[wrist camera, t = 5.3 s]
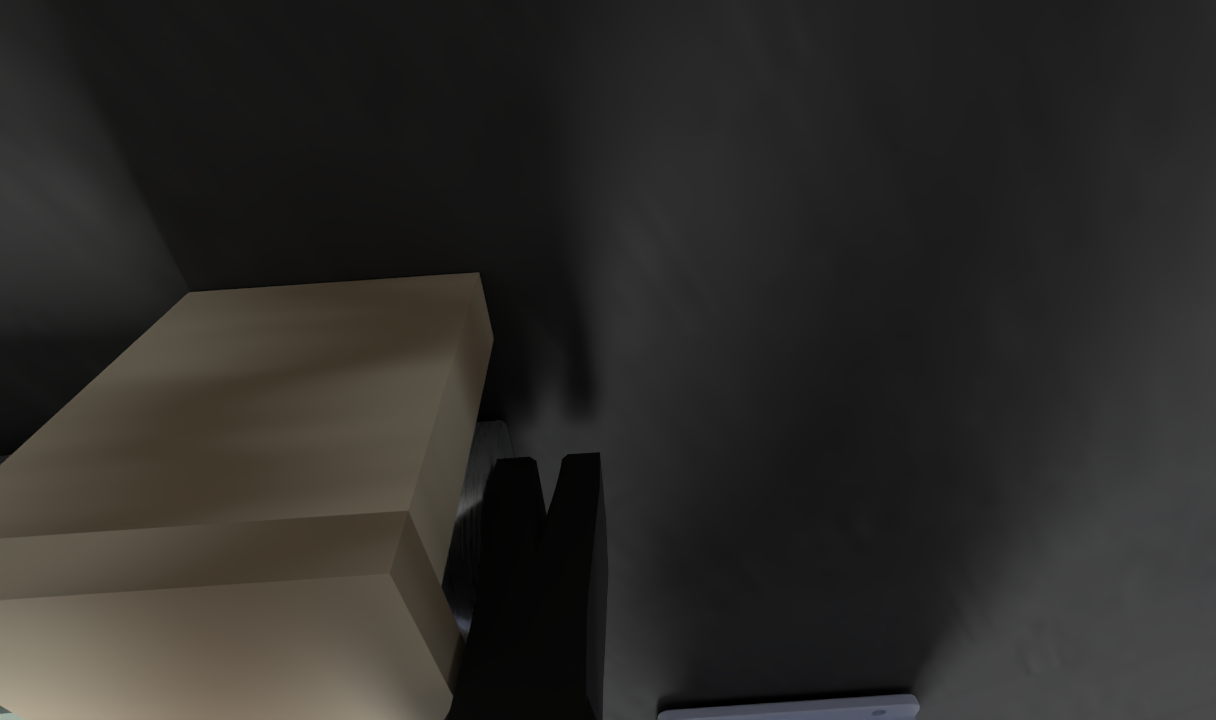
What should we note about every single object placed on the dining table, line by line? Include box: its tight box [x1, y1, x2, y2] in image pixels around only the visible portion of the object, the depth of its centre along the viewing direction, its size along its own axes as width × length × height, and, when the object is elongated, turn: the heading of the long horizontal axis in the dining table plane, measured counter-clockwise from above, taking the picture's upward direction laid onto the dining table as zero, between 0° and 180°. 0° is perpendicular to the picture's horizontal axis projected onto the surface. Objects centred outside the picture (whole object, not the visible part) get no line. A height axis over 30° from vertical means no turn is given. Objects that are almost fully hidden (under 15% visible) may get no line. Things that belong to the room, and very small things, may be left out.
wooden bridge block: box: [0, 272, 494, 720], centre depth 10 cm, size 5×8×6 cm, turn 3°
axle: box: [0, 420, 514, 639], centre depth 11 cm, size 12×4×4 cm, turn 93°
